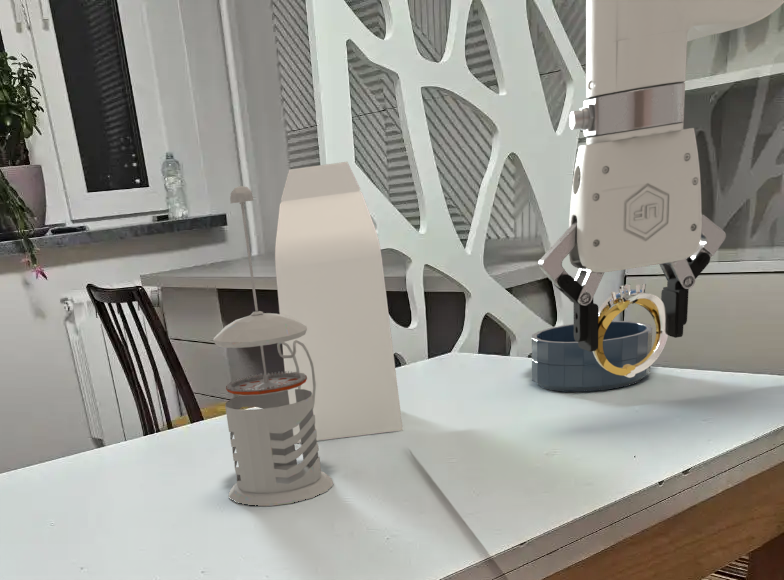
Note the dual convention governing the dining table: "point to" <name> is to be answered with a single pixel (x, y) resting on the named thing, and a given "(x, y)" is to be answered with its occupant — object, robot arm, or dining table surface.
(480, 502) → the dining table surface
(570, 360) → the bowl
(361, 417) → the milk
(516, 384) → the dining table surface
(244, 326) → the french press
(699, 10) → the robot arm
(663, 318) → the ring
